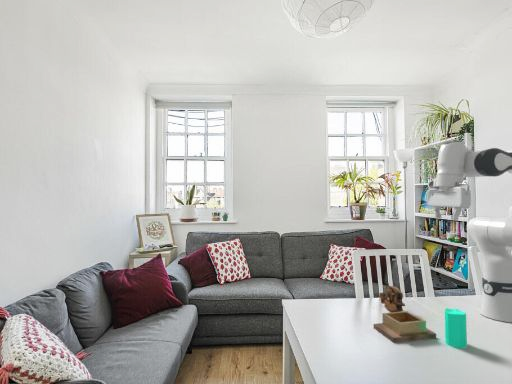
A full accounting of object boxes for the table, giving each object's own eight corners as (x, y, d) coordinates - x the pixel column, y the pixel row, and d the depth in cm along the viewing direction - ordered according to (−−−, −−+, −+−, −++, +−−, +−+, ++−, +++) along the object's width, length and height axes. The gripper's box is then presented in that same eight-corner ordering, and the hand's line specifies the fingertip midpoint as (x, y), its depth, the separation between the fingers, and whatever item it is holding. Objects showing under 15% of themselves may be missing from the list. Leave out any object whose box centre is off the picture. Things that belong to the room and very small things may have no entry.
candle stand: (412, 324, 120) (412, 309, 120) (436, 338, 108) (435, 321, 108) (373, 328, 117) (373, 312, 117) (393, 342, 105) (392, 325, 105)
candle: (470, 349, 100) (469, 310, 100) (449, 347, 101) (448, 309, 101) (462, 340, 106) (461, 304, 106) (442, 339, 107) (441, 303, 107)
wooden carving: (375, 304, 142) (375, 281, 143) (385, 303, 143) (384, 281, 143) (399, 318, 126) (398, 292, 126) (409, 317, 127) (408, 291, 127)
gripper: (477, 182, 112) (474, 222, 112) (439, 184, 132) (437, 218, 132) (460, 181, 111) (457, 220, 111) (425, 183, 132) (422, 216, 132)
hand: (445, 219), depth 122 cm, fingers open, 8 cm apart
